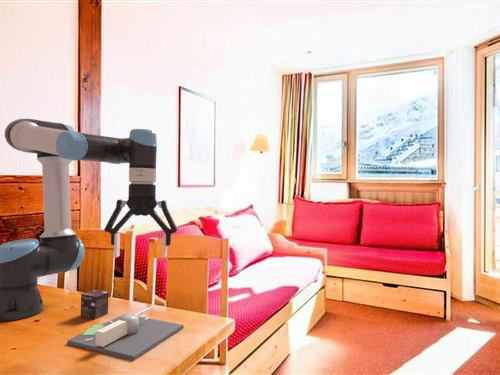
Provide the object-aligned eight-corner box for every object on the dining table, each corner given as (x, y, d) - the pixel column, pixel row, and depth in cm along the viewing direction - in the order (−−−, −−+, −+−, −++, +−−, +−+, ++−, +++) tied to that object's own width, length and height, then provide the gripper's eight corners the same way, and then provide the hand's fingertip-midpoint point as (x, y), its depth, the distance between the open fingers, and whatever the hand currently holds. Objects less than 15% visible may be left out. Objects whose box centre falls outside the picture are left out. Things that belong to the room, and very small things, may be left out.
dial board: (64, 343, 97) (64, 338, 97) (123, 316, 118) (123, 312, 118) (134, 360, 88) (134, 355, 88) (184, 327, 109) (184, 323, 109)
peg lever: (145, 317, 113) (145, 304, 113) (158, 320, 111) (159, 307, 111) (91, 344, 93) (92, 329, 93) (107, 348, 91) (107, 332, 91)
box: (79, 317, 116) (80, 294, 116) (94, 311, 122) (94, 289, 122) (94, 320, 114) (94, 296, 114) (108, 313, 119) (109, 291, 119)
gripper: (93, 182, 100) (91, 258, 100) (184, 184, 102) (182, 259, 102) (102, 182, 108) (101, 253, 108) (187, 184, 110) (185, 254, 110)
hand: (140, 256), depth 105 cm, fingers open, 13 cm apart
